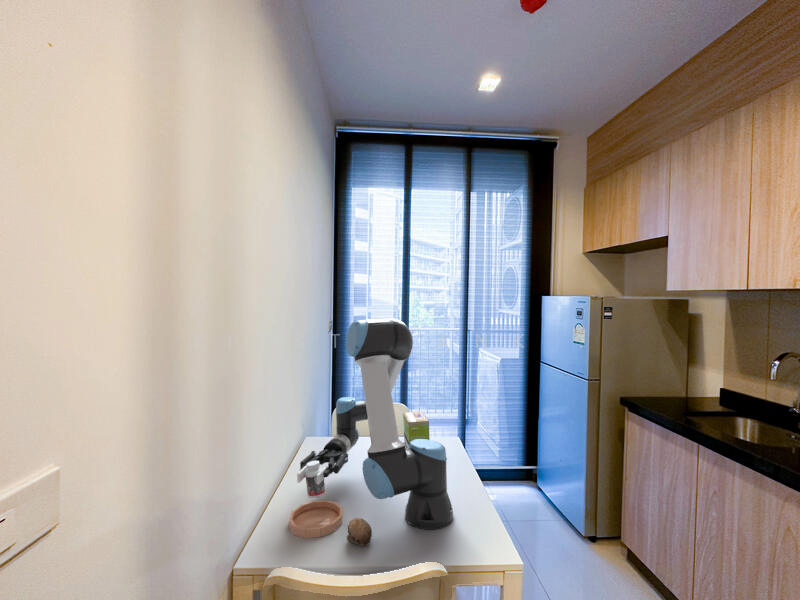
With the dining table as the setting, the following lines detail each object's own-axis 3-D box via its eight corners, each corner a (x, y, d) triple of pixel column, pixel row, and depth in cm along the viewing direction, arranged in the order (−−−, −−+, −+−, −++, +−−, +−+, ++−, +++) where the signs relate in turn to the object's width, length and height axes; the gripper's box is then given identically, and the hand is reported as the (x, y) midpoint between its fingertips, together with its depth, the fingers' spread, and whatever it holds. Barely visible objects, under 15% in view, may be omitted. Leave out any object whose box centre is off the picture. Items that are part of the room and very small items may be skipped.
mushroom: (336, 531, 105) (349, 514, 105) (353, 529, 111) (365, 512, 111) (350, 557, 99) (364, 538, 99) (368, 552, 106) (381, 535, 106)
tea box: (403, 442, 182) (402, 412, 182) (423, 440, 183) (422, 410, 183) (408, 454, 167) (408, 421, 167) (430, 452, 168) (429, 419, 168)
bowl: (351, 524, 113) (351, 516, 114) (301, 544, 104) (301, 536, 104) (329, 502, 126) (329, 495, 127) (282, 518, 117) (282, 511, 117)
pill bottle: (304, 496, 114) (300, 464, 115) (318, 489, 118) (315, 458, 119) (314, 500, 111) (310, 467, 111) (329, 492, 115) (325, 461, 115)
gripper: (361, 461, 131) (337, 494, 109) (313, 457, 135) (280, 488, 113) (361, 440, 132) (336, 468, 109) (312, 436, 135) (279, 464, 113)
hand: (308, 478), depth 111 cm, fingers closed on pill bottle, 6 cm apart
